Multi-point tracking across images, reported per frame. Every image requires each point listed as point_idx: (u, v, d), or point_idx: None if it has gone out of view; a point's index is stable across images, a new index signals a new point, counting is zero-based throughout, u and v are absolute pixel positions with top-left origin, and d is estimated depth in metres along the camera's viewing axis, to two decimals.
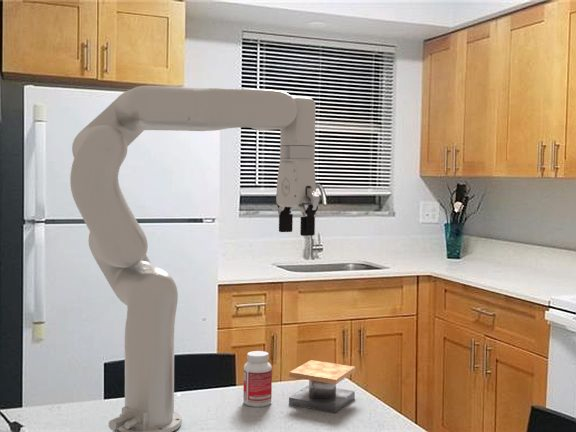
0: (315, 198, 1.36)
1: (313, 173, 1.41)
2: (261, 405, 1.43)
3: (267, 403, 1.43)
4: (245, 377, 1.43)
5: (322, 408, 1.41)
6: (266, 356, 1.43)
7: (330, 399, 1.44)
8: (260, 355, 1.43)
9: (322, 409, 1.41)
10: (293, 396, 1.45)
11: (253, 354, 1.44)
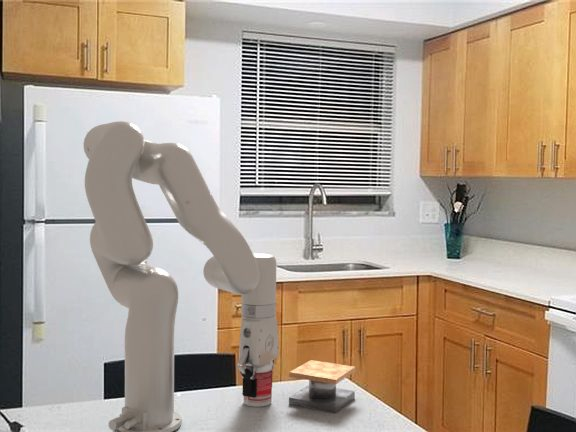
0: None
1: None
2: (261, 405, 1.43)
3: (267, 403, 1.43)
4: None
5: (322, 408, 1.41)
6: None
7: (330, 399, 1.44)
8: None
9: (322, 409, 1.41)
10: (293, 396, 1.45)
11: None
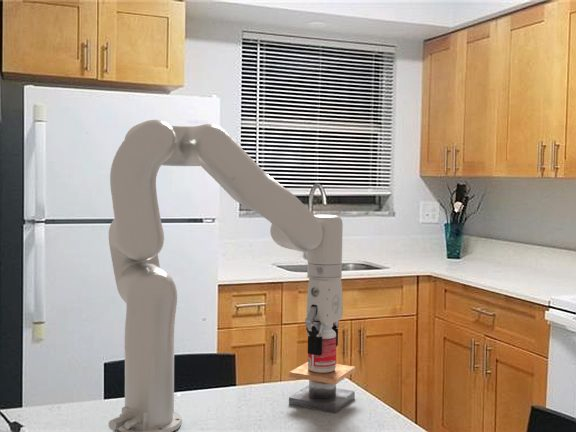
0: None
1: None
2: (327, 371, 1.44)
3: (332, 369, 1.44)
4: None
5: (322, 408, 1.41)
6: None
7: (330, 399, 1.44)
8: None
9: (322, 409, 1.41)
10: (293, 396, 1.45)
11: (318, 321, 1.45)
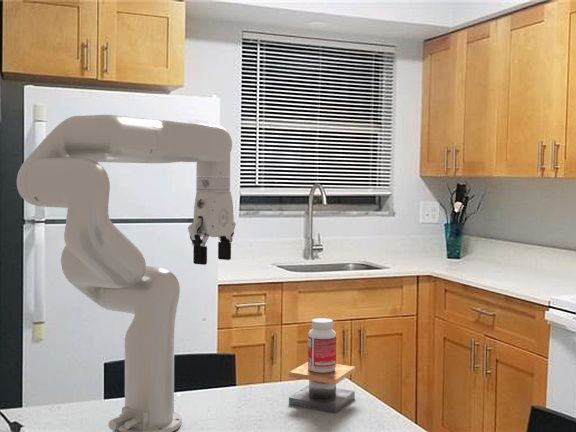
0: None
1: None
2: (327, 371, 1.44)
3: (332, 369, 1.44)
4: (310, 343, 1.44)
5: (322, 408, 1.41)
6: (331, 322, 1.44)
7: (330, 399, 1.44)
8: (325, 321, 1.44)
9: (322, 409, 1.41)
10: (293, 396, 1.45)
11: (318, 321, 1.45)
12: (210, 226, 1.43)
